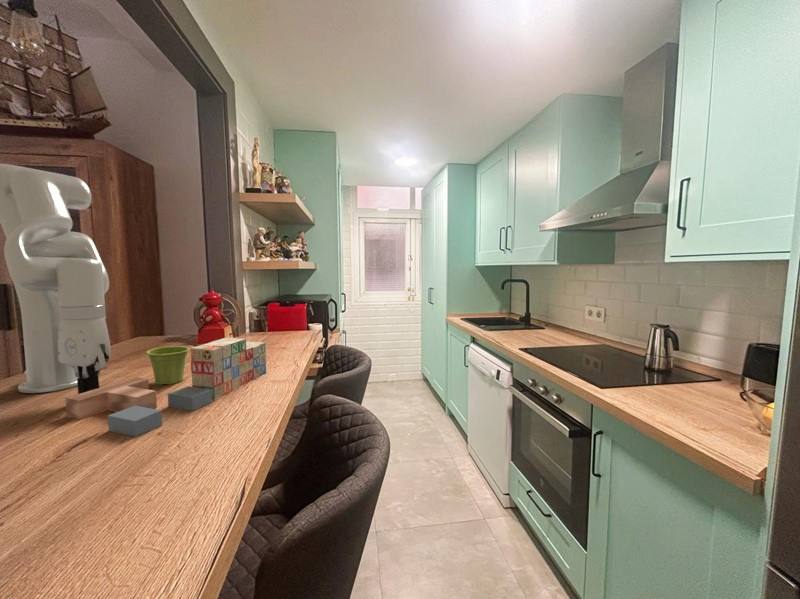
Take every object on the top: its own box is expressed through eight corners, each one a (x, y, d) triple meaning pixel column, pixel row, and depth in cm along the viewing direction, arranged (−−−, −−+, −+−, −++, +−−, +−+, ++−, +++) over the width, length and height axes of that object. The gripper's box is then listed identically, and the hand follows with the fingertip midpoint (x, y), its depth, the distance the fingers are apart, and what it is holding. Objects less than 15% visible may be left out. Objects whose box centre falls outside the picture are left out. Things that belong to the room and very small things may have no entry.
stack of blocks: (247, 371, 102) (247, 331, 101) (266, 373, 101) (266, 332, 100) (191, 397, 81) (190, 347, 80) (214, 400, 80) (213, 348, 79)
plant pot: (177, 374, 98) (176, 344, 97) (197, 379, 94) (196, 348, 93) (140, 383, 90) (139, 351, 89) (160, 389, 86) (158, 356, 85)
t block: (66, 416, 70) (65, 397, 69) (136, 393, 83) (136, 377, 83) (111, 426, 66) (110, 406, 66) (177, 400, 79) (176, 383, 79)
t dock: (108, 430, 64) (107, 415, 64) (188, 398, 80) (187, 386, 80) (135, 436, 62) (134, 421, 62) (211, 402, 78) (211, 389, 78)
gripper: (39, 314, 75) (46, 395, 76) (86, 317, 70) (92, 403, 72) (80, 310, 82) (85, 384, 83) (125, 313, 77) (129, 391, 79)
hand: (89, 393), depth 78 cm, fingers closed
